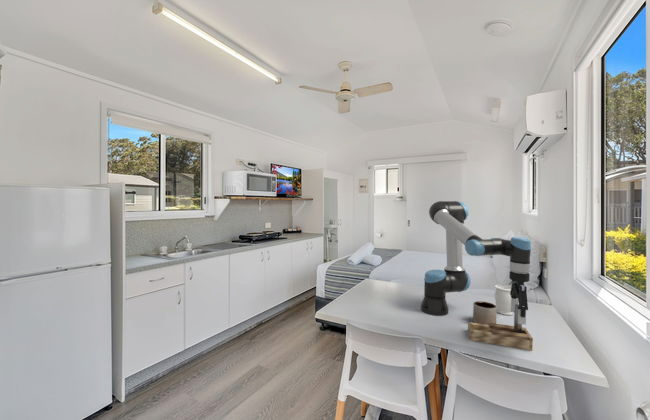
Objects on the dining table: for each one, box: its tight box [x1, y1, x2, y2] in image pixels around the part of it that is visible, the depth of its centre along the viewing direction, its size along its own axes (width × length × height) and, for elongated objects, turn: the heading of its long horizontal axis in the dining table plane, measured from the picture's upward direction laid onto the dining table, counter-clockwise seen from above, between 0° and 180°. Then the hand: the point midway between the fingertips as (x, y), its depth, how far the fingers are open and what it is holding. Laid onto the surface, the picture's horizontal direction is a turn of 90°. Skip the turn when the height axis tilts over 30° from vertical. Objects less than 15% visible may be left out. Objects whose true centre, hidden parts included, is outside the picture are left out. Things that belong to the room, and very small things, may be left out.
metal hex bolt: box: [513, 303, 524, 333], centre depth 129 cm, size 5×5×16 cm
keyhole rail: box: [467, 321, 534, 351], centre depth 132 cm, size 24×11×5 cm, turn 68°
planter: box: [472, 300, 497, 325], centre depth 151 cm, size 11×11×10 cm
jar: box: [494, 284, 514, 316], centre depth 165 cm, size 11×10×15 cm
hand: (517, 317), depth 129 cm, fingers open, 13 cm apart
